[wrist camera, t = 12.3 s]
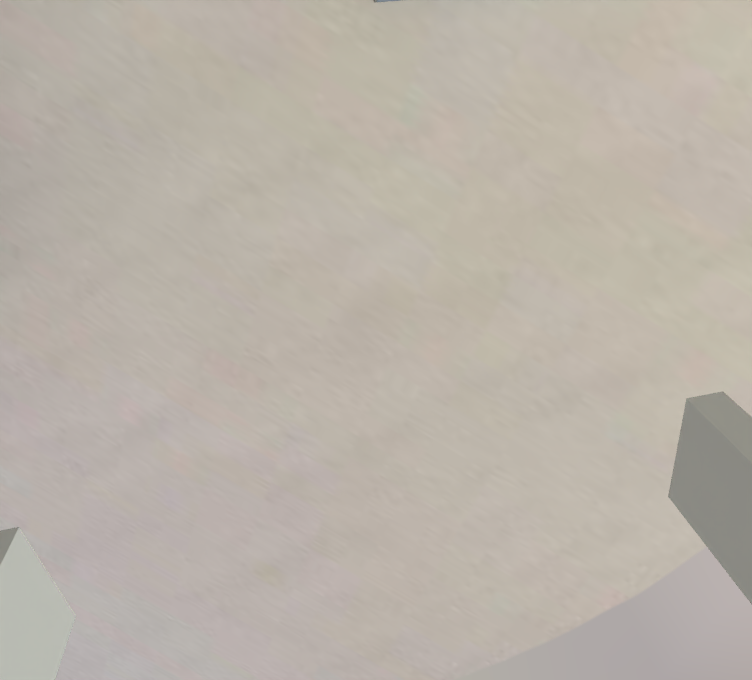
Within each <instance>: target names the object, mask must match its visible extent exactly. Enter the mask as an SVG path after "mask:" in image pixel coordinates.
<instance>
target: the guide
mask: <svg viewBox="0 0 752 680" xmlns="http://www.w3.org/2000/svg"><path fill="white" fill-rule="evenodd" d="M386 1H398V0H374V2H386Z"/></svg>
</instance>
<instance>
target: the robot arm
mask: <svg viewBox="0 0 752 680" xmlns="http://www.w3.org/2000/svg"><path fill="white" fill-rule="evenodd" d="M668 497H669V498H670V499H671V501H672V502H673V503H674V505H675V506H676V507H677V508H678V510H679V511H680V512H681V514H682V515H683V516H684V517H685V519H686V520H687V521H688V523H689V524H690V525H691V526H692V528H693V529H694V530H695V532H696V533H697V534H698V536H699V537H700V538H701V539H702V541H703V542H704V543H705V545H706V546H707V547H708V548H709V550H710V551H711V552H712V554H713V555H714V556H715V558H716V559H717V560H718V561H719V562H720V564H721V565H722V567H723V568H724V569H725V570H726V572H727V573H728V574H729V576H730V577H731V578H732V579H733V581H734V582H735V583H736V585H737V586H738V587H739V589H740V590H741V591H742V592H743V593H744V595H745V596H746V597H747V599H748V600H749V601H750V603H751V604H752V417H751V416H750V415H749V414H747V413H746V412H745V411H744V410H743V409H742V408H741V407H740V406H739V405H737V404H736V403H735V402H734V401H733V400H732V399H731V398H730V397H729V396H727V395H726V394H725V393H724V392H718V393H713V394H708V395H703V396H697V397H692V398H687V399H686V404H685V410H684V415H683V420H682V426H681V431H680V437H679V442H678V447H677V453H676V458H675V463H674V469H673V474H672V479H671V485H670V490H669V495H668ZM75 618H76V615H75V614H74V612H73V610H72V609H71V607H70V606H69V604H68V603H67V601H66V600H65V598H64V596H63V595H62V593H61V592H60V590H59V589H58V587H57V585H56V584H55V582H54V581H53V579H52V578H51V576H50V575H49V573H48V571H47V570H46V568H45V567H44V565H43V564H42V562H41V561H40V559H39V557H38V556H37V554H36V553H35V551H34V550H33V548H32V547H31V545H30V543H29V542H28V540H27V539H26V537H25V536H24V534H23V533H22V531H21V529H20V528H19V527H17V528H12V529H7V530H2V531H0V680H55V679H56V676H57V673H58V670H59V666H60V663H61V660H62V657H63V654H64V651H65V648H66V645H67V642H68V639H69V636H70V633H71V630H72V627H73V624H74V621H75Z"/></svg>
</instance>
